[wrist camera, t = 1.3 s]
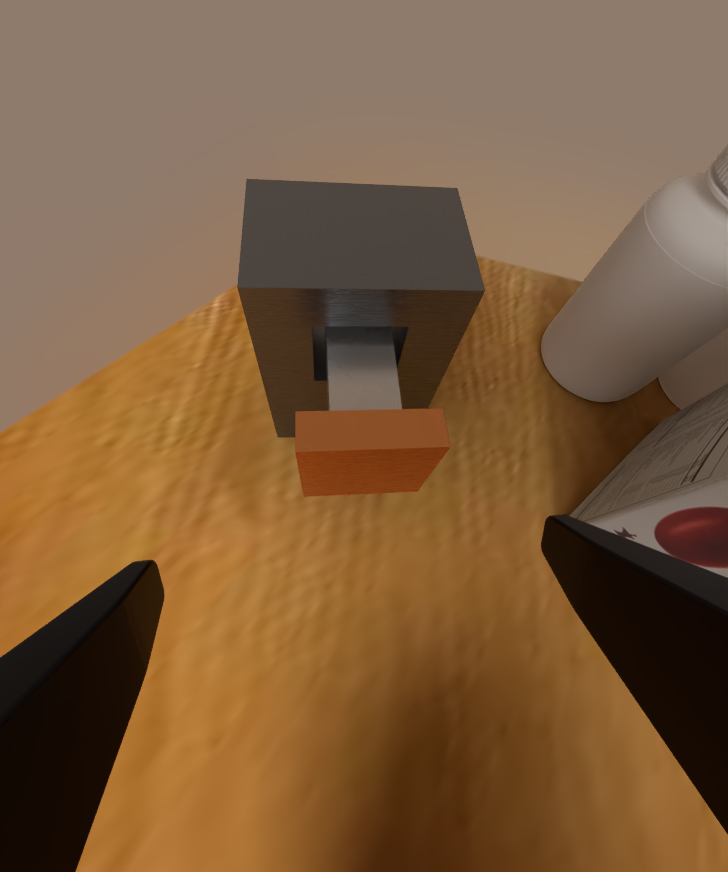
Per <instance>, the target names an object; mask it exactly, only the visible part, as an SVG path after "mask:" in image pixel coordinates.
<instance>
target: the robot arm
mask: <svg viewBox="0 0 728 872" xmlns="http://www.w3.org/2000/svg"><path fill="white" fill-rule="evenodd" d="M541 548H542V552H543V555H544V557H545V558H546V560H547V562H548V564H549V566H550V567H551V569H552V571H553V573H554V575H555V576H556V578H557V580H558V582H559V584H560V585H561V587H562V589H563V591H564V593H565V594H566V596H567V598H568V600H569V602H570V603H571V605H572V607H573V608H574V610H575V612H576V613H577V615H578V616H579V618H580V619H581V621H582V622H583V624H584V625H585V627H586V628H587V630H588V631H589V632H590V634H591V635H592V637H593V638H594V640H595V641H596V643H597V644H598V646H599V647H600V649H601V650H602V651H603V653H604V654H605V656H606V657H607V659H608V660H609V662H610V663H611V665H612V666H613V668H614V669H615V670H616V672H617V673H618V675H619V676H620V678H621V679H622V681H623V682H624V684H625V685H626V687H627V688H628V689H629V691H630V692H631V694H632V695H633V697H634V698H635V700H636V701H637V703H638V704H639V706H640V707H641V708H642V710H643V711H644V713H645V714H646V716H647V717H648V719H649V720H650V722H651V723H652V725H653V726H654V727H655V729H656V730H657V732H658V733H659V735H660V736H661V738H662V739H663V741H664V742H665V744H666V745H667V746H668V748H669V749H670V751H671V752H672V754H673V755H674V757H675V758H676V760H677V761H678V763H679V764H680V765H681V767H682V768H683V770H684V771H685V773H686V774H687V776H688V777H689V779H690V780H691V782H692V783H693V784H694V786H695V787H696V789H697V790H698V792H699V793H700V795H701V796H702V798H703V799H704V800H705V802H706V803H707V805H708V806H709V808H710V809H711V811H712V812H713V814H714V815H715V817H716V818H717V819H718V821H719V822H720V824H721V825H722V827H723V828H724V830H725V831H726V833H727V834H728V578H727V577H725V576H722V575H719V574H717V573H714V572H712V571H709V570H707V569H704V568H701V567H699V566H696V565H694V564H691V563H689V562H686V561H683V560H681V559H678V558H676V557H673V556H671V555H668V554H665V553H663V552H660V551H658V550H655V549H653V548H650V547H647V546H645V545H642V544H640V543H637V542H635V541H632V540H629V539H627V538H624V537H622V536H619V535H617V534H614V533H612V532H609V531H606V530H604V529H601V528H599V527H596V526H594V525H591V524H588V523H586V522H583V521H581V520H578V519H576V518H573V517H570V516H568V515H564V514H561V515H553V516H549V517H547V519H546V521H545V525H544V531H543V536H542V542H541ZM163 602H164V588H163V584H162V581H161V577H160V573H159V570H158V566H157V564H156V562H155V561H153V560H145V561H136V562H132V563H131V564H129V565H128V566H127V567H125V568H124V569H122V570H121V571H120V572H118V573H117V574H115V575H114V576H113V577H111V578H110V579H109V580H107V581H106V582H104V583H103V584H102V585H100V586H99V587H97V588H96V589H95V590H93V591H92V592H91V593H89V594H88V595H86V596H85V597H84V598H82V599H81V600H79V601H78V602H77V603H75V604H74V605H73V606H71V607H70V608H68V609H67V610H66V611H64V612H63V613H61V614H60V615H59V616H57V617H56V618H55V619H53V620H52V621H50V622H49V623H48V624H46V625H45V626H43V627H42V628H41V629H39V630H38V631H37V632H35V633H34V634H32V635H31V636H30V637H28V638H27V639H25V640H24V641H23V642H21V643H20V644H19V645H17V646H16V647H14V648H13V649H12V650H10V651H9V652H7V653H6V654H5V655H3V656H2V657H0V872H76V869H77V866H78V863H79V860H80V858H81V855H82V852H83V849H84V846H85V844H86V841H87V838H88V835H89V832H90V830H91V827H92V824H93V821H94V818H95V816H96V813H97V810H98V807H99V804H100V802H101V799H102V796H103V793H104V790H105V788H106V785H107V782H108V779H109V776H110V774H111V771H112V768H113V765H114V762H115V760H116V757H117V754H118V751H119V748H120V746H121V743H122V740H123V737H124V734H125V732H126V729H127V726H128V723H129V720H130V718H131V715H132V712H133V709H134V706H135V704H136V701H137V698H138V695H139V692H140V690H141V687H142V684H143V681H144V678H145V675H146V671H147V668H148V664H149V660H150V656H151V652H152V648H153V644H154V639H155V635H156V631H157V627H158V623H159V619H160V614H161V610H162V606H163Z"/></svg>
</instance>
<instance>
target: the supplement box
mask: <svg viewBox="0 0 728 872" xmlns="http://www.w3.org/2000/svg"><path fill="white" fill-rule="evenodd" d="M569 516H570V517H573V518H576V519H578V520H581V521H583V522H586V523H588V524H591V525H594V526H596V527H599V528H601V529H604V530H606V531H609V532H612V533H614V534H617V535H619V536H622V537H624V538H627V539H629V540H632V541H635V542H637V543H640V544H642V545H645V546H647V547H650V548H653V549H655V550H658V551H660V552H663V553H665V554H668V555H671V556H673V557H676V558H678V559H681V560H683V561H686V562H689V563H691V564H694V565H696V566H699V567H701V568H704V569H707V570H709V571H712V572H714V573H717V574H719V575H722V576H725V577H727V578H728V383H727V384H726V385H724V386H722V387H720V388H719V389H717V390H715V391H713V392H712V393H710V394H708V395H706V396H705V397H703V398H701V399H700V400H698V401H696V402H694V403H693V404H691V405H689V406H687V407H686V408H684V409H682V410H680V411H679V412H677V413H675V414H673V415H672V416H670V417H668V418H666V419H665V420H663V421H662V422H661V423H659V424H658V425H657V426H656V427H655V428H654V429H653V430H652V431H651V432H650V433H649V434H648V435H647V436H646V437H645V438H644V439H643V440H642V441H641V442H640V443H639V444H638V445H637V446H636V447H635V448H634V449H633V450H632V451H631V452H630V453H629V454H628V455H627V456H626V457H625V458H624V459H623V460H622V461H621V462H620V464H619V465H618V466H617V467H616V468H615V469H614V470H613V471H612V472H611V473H610V474H609V475H608V476H607V477H606V478H605V479H604V480H603V481H602V482H601V483H600V484H599V485H598V486H597V487H596V488H595V489H594V490H593V491H592V492H591V493H590V494H589V496H588V497H587V498H586V499H585V500H584V501H583V502H582V503H581V504H580V505H579V506H578V507H577V508H576V509H575V510H574V511H573V512H572V513H571V514H570V515H569Z"/></svg>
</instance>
